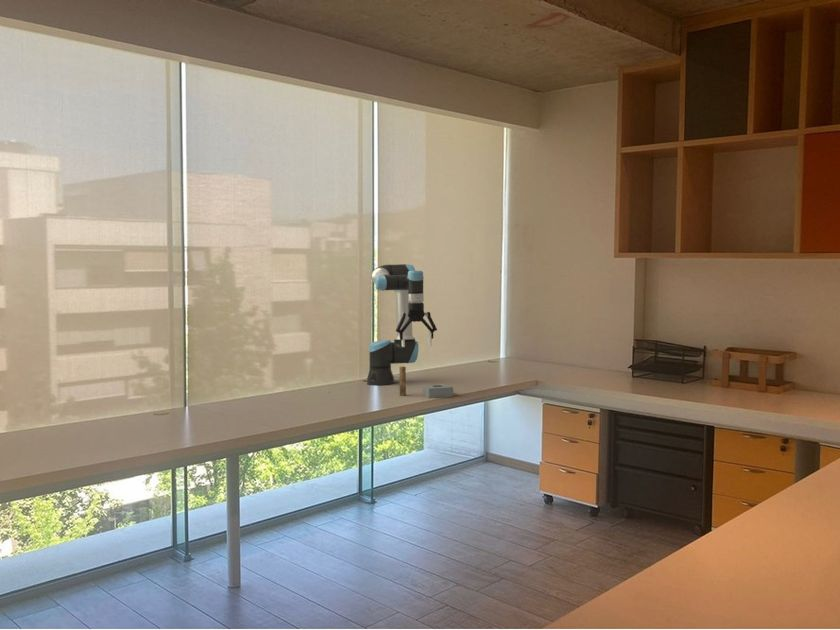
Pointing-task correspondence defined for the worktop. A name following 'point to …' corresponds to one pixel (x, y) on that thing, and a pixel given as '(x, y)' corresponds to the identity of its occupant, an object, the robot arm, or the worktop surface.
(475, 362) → the worktop surface
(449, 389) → the socket block
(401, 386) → the dowel
